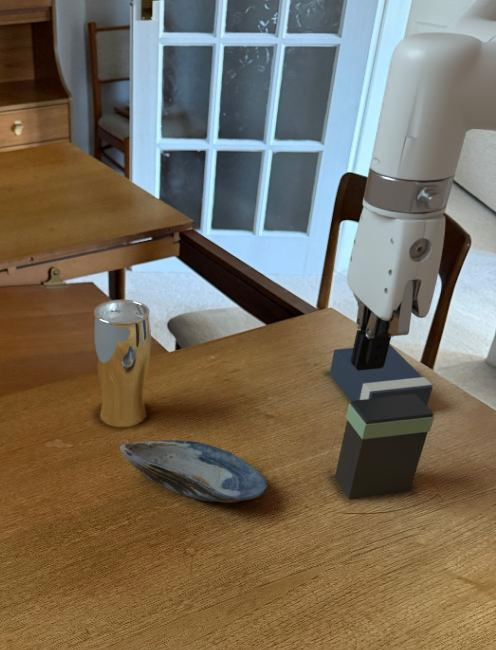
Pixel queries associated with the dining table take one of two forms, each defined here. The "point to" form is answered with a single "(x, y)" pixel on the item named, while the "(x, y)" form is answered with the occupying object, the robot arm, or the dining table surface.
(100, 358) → the beer glass
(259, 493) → the seashell
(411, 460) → the dark grey rectangular block
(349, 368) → the navy blue box
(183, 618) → the dining table surface
